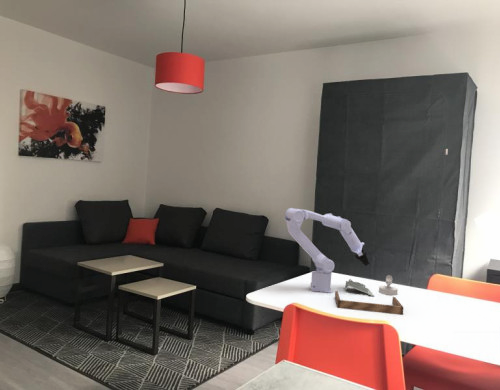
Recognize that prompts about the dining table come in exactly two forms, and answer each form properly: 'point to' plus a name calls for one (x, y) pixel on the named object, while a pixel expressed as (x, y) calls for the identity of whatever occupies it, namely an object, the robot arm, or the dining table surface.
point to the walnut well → (370, 305)
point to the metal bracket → (358, 287)
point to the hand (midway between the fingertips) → (365, 261)
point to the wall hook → (388, 287)
